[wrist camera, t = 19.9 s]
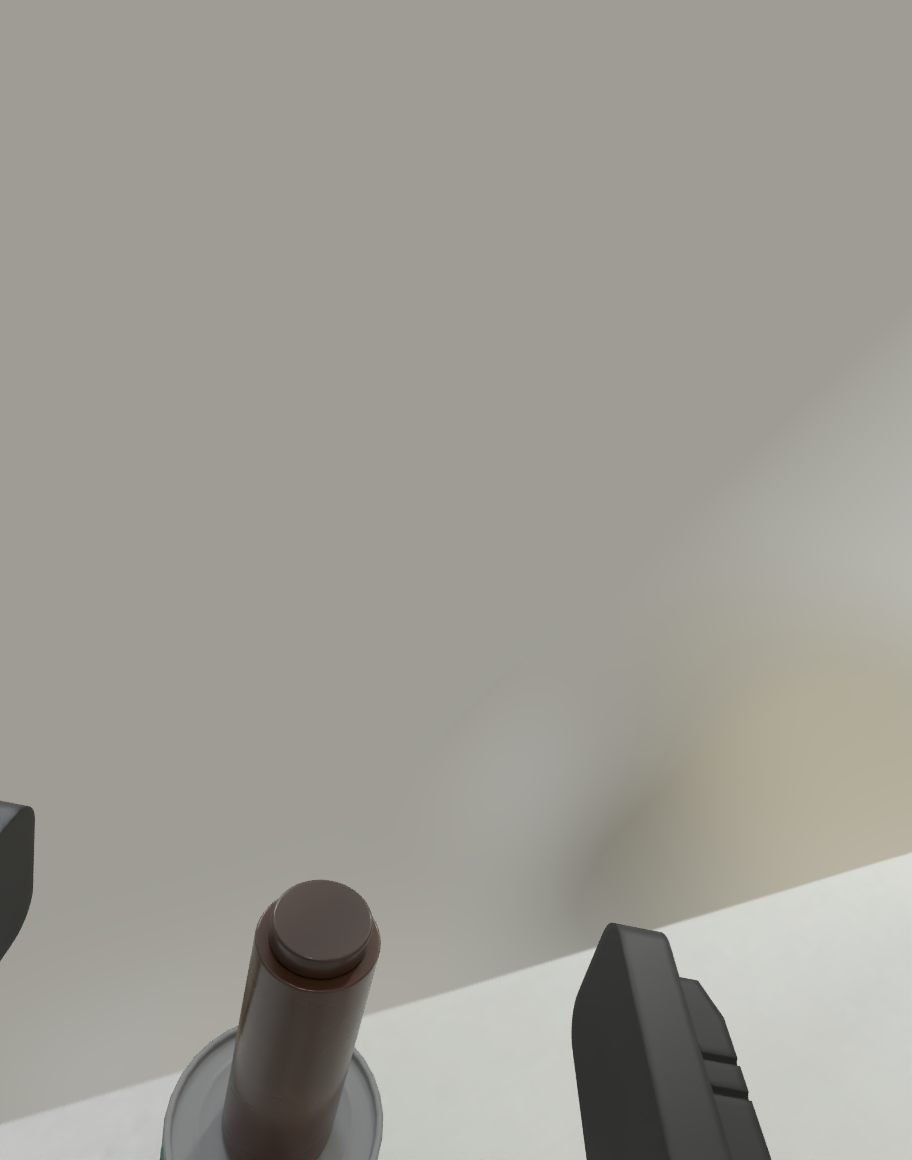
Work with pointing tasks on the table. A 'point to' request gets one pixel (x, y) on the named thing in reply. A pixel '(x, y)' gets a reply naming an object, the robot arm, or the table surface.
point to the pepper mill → (299, 1021)
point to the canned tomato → (199, 1097)
